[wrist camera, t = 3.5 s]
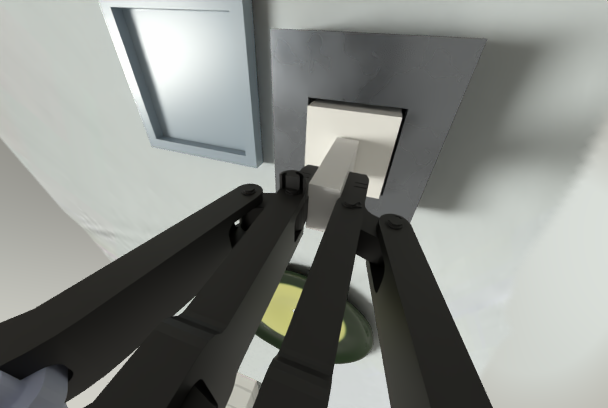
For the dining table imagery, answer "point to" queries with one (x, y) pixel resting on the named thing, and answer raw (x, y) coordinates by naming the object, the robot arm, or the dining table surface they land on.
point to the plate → (279, 313)
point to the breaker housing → (373, 97)
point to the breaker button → (354, 135)
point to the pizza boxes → (243, 392)
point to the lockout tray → (191, 74)
